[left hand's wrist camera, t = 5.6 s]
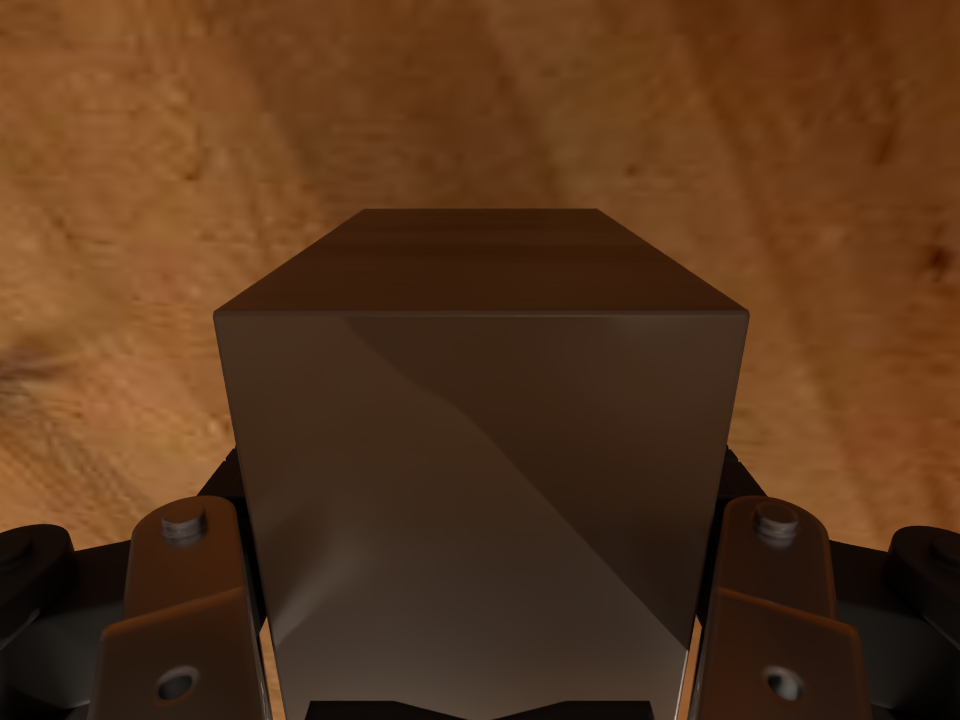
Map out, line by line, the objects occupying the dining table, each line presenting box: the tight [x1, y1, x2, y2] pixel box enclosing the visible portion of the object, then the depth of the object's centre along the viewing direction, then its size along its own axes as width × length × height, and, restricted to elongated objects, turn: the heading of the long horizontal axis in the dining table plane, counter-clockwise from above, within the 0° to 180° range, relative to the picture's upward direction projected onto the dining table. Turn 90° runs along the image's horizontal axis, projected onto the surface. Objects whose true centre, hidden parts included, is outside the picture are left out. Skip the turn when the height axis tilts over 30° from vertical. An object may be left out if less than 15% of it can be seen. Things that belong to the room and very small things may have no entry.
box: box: [213, 209, 750, 720], centre depth 14 cm, size 21×6×9 cm, turn 0°
